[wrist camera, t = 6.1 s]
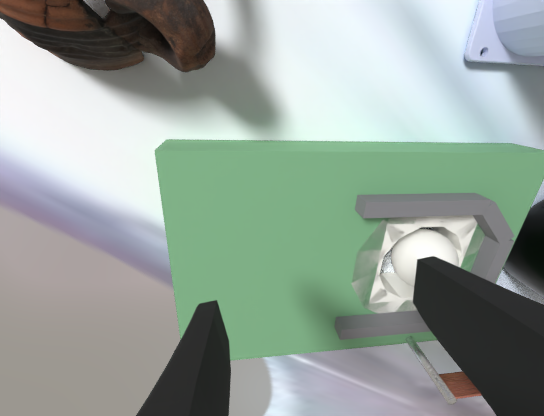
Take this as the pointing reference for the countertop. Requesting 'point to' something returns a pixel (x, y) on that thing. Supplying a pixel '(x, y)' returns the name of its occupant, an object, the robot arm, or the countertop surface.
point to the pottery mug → (117, 31)
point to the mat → (330, 232)
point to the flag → (445, 378)
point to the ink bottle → (529, 251)
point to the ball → (420, 252)
